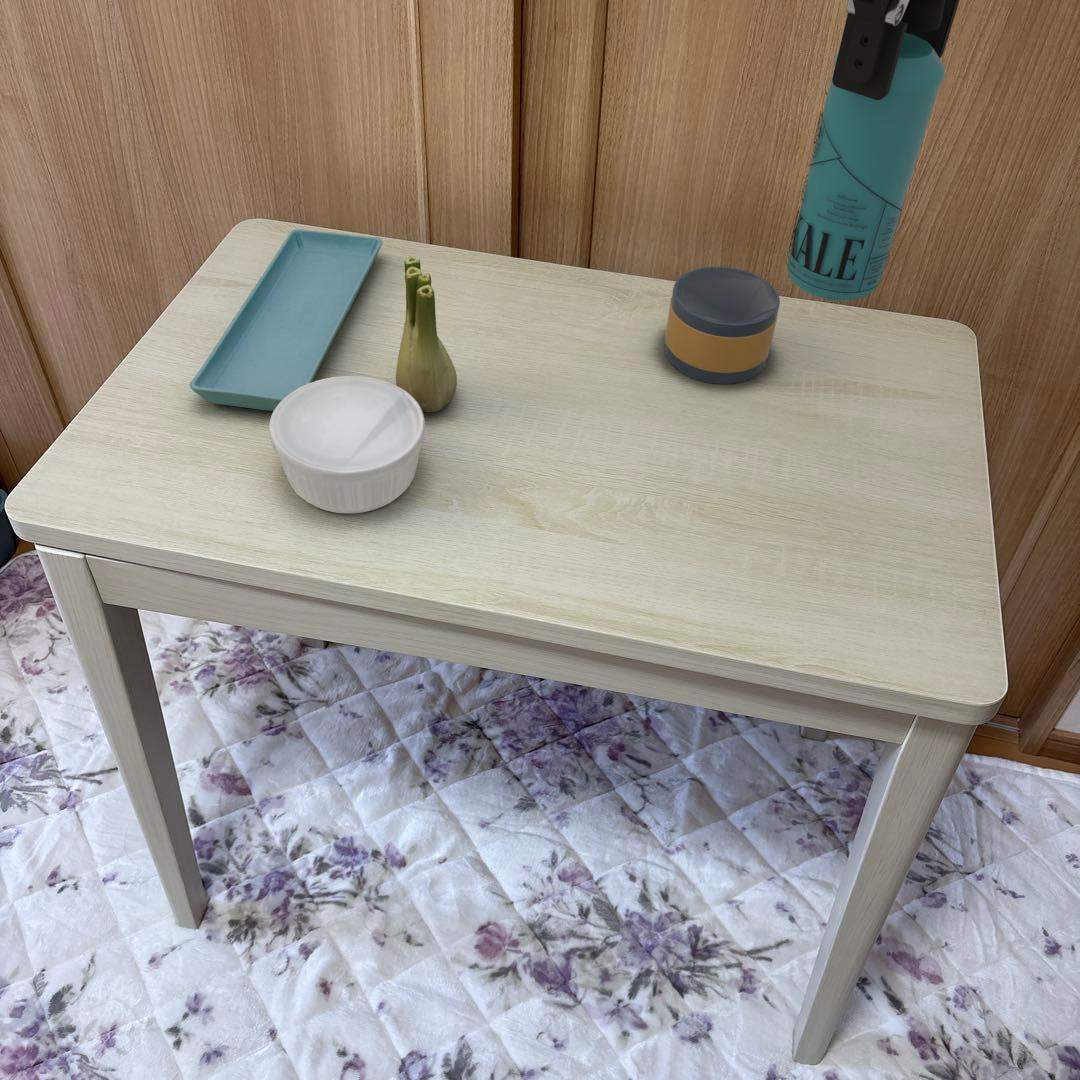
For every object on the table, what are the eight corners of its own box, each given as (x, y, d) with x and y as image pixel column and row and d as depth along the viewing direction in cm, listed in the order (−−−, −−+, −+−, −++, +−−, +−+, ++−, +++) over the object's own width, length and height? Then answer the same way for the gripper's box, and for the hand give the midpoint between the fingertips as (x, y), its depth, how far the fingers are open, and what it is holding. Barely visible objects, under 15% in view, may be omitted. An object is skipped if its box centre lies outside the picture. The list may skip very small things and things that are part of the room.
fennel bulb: (407, 375, 89) (398, 248, 81) (463, 382, 89) (461, 255, 80) (389, 418, 85) (379, 289, 77) (449, 425, 85) (445, 297, 76)
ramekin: (433, 520, 77) (430, 466, 74) (277, 532, 76) (266, 478, 72) (421, 423, 85) (418, 370, 81) (279, 432, 83) (270, 378, 80)
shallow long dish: (294, 246, 103) (291, 223, 101) (385, 257, 102) (384, 234, 101) (192, 411, 85) (186, 387, 83) (302, 426, 84) (299, 401, 82)
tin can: (735, 316, 98) (747, 258, 93) (786, 373, 92) (801, 314, 87) (646, 334, 95) (654, 275, 91) (692, 393, 89) (703, 333, 85)
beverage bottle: (868, 274, 74) (962, -38, 60) (881, 328, 69) (986, 3, 55) (775, 266, 74) (846, -47, 60) (781, 319, 69) (860, -6, 55)
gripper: (1004, -297, 42) (881, 142, 54) (1136, -330, 51) (1005, 48, 64) (834, -322, 45) (755, 99, 58) (989, -349, 55) (892, 16, 67)
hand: (888, 69), depth 61 cm, fingers closed on beverage bottle, 6 cm apart
